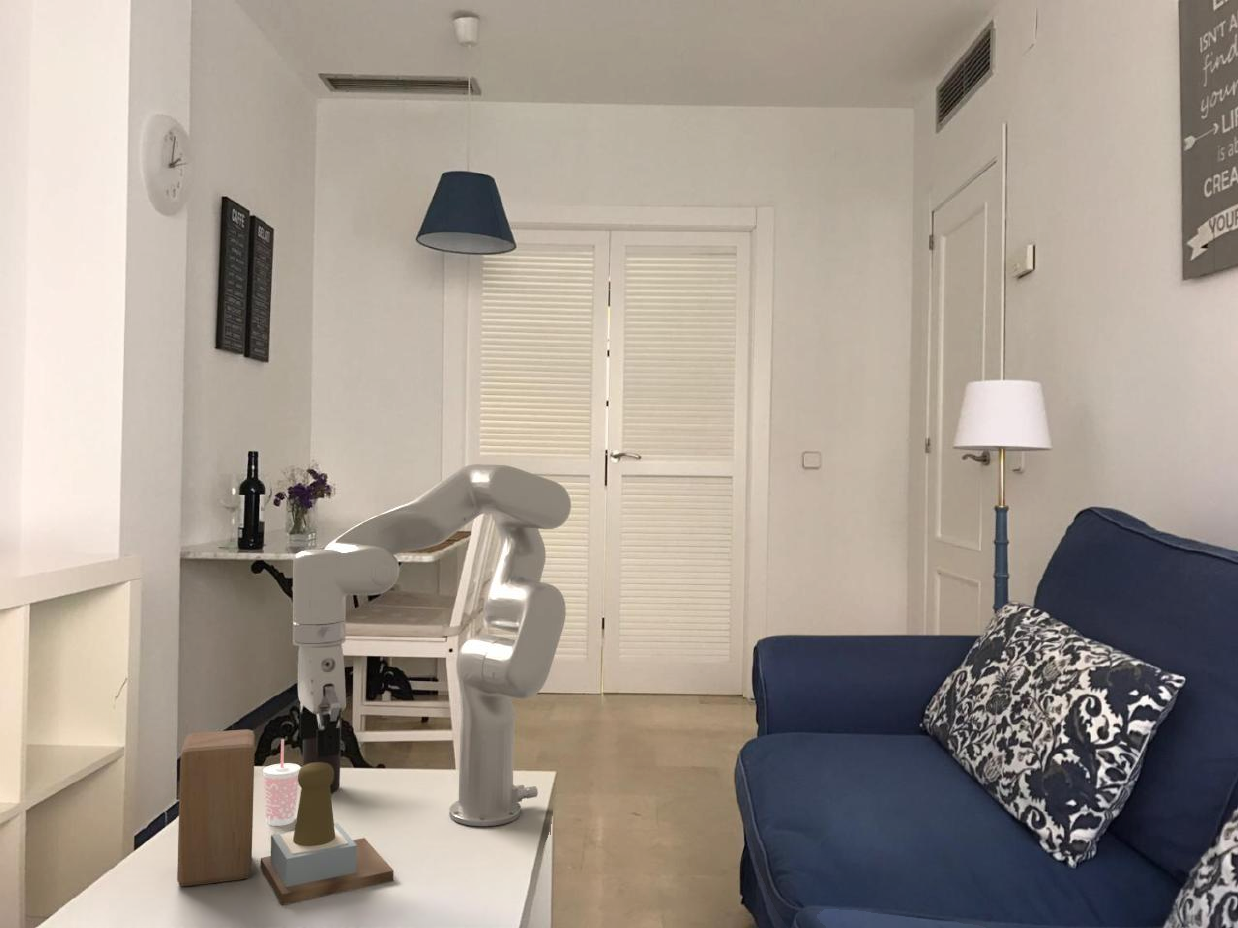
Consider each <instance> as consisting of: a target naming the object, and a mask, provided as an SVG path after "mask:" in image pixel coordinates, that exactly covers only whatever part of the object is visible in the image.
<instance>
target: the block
mask: <svg viewBox="0 0 1238 928" xmlns="http://www.w3.org/2000/svg"><path fill="white" fill-rule="evenodd" d="M183 741H184V742H183V746H182V748H181V753H180V758H179V759H180V761H179V766H180V767H179V797H178V798H179V799H178V800H179V801H178V802H179V803H178V831H177V832H178V836H177V868H176V869H177V871H176V873H177V875H176V876H177V877H176V881H177V883H178V885H179V886H181V887H188V886H189V887H190V886H197V885H198V886H199V885H205V884H206V885H207V884H215V883H221V882H230V881H231V882H232V881H237V880H239V881H240V880H245V879H247V878H249V877H250V876H251V873H252V865H253V864H252V861H253V860H252V857H253V827H254V826H253V821H254V820H253V819H254V786H255V785H254V784H255V783H254V782H255V751H256V750H255V746H256V745H255V744H256V735H255V732H254V730H251V729H248V728H247V729H236V730H235V729H233V730H220V731H206V732H205V731H204V732H191V733H189V734H187V735H186V737H185V739H184V740H183Z"/></svg>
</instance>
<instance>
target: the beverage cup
mask: <svg viewBox="0 0 1238 928" xmlns="http://www.w3.org/2000/svg"><path fill="white" fill-rule="evenodd" d="M280 741H281V742H280V763H276V764H271V765H268V766H266V767H264V768H263V770H262V772H263V774H262V775H263V777H264V795H265V797H264V799H265V820H266V824H267V825H269V826H274V827H275V826H277V827H280V826H286V825H290V824H292V823H294V821H296V809H297V798H298V786H299V783H298V773H299V770H300V769H301V767H302V766H300V765H299V764H296V763H292V762H291V763H290V762H286V763H285V761H284V760H285V759H284V758H285V754H284V753H285V739H284V738H282V739H280Z"/></svg>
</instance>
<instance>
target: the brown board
mask: <svg viewBox="0 0 1238 928" xmlns="http://www.w3.org/2000/svg"><path fill="white" fill-rule="evenodd" d="M352 840H353V841H354V843H355V844H356V845H357V859H356V873H351V874H346V875H342V876H337V877H332V878H327V879H323V880H318V881H313V882H308V883H304V884H299V885H294V886H289V887H286V886H285V884H284V883H283V881H282V880H281V878H280V876H279V875H278V873H277V871H276V870H275V868H274V866H273V865H272V863H271V861H270V860H271V855H269V856H263V857H260V866H259V867H260V869H261V871H262V873H263V874H264V876H265V879H266V880H267V882H268V883H269V885H270V887H271V888H272V891H273V892H274V894H275V896H276V897H277V899H278V901H279V903H280V902H281V903H280V905H282V906H283V905H289V904H293V903H297V902H302V900H303V901H307V900H310V899H311V898H312V899H315V898H321V897H325V896H329V895H334V894H339V893H343V892H348V891H352V890H356V889H360V888H361V889H362V888H365V887H370V886H371V887H372V886H375V885H379V884H383V883H388V882H394V869H393V868H392V867H391V866H390V865H389V863H388V862H387V861H386V860H385V859H384V858H383V857H382V855H380V853H379V852H377V850H376V849H375V848H374V846H373V845H372V844H371V843H370V842H369V841H368V840H367V839H366V837H363V838H358V839H352ZM305 899H306V900H305ZM312 899H311V900H312ZM292 902H293V903H292ZM288 903H289V904H288Z"/></svg>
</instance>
